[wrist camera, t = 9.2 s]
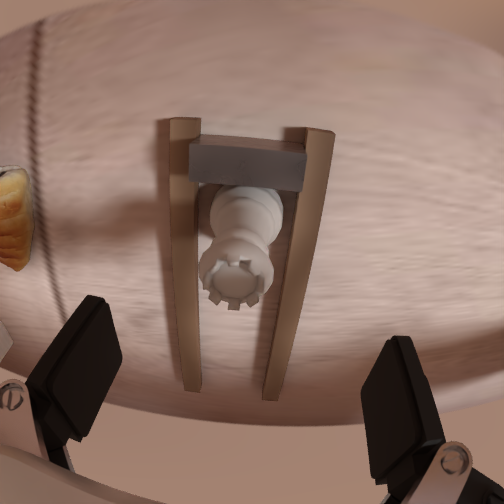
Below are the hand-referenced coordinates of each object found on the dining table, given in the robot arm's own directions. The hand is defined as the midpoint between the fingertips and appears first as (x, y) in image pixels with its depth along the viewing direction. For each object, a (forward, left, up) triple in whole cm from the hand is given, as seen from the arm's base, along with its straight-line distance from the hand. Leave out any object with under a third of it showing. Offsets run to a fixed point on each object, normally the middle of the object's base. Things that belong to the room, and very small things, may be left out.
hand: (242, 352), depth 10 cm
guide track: (+1, +6, -11) cm, 13 cm away
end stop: (+1, -4, -11) cm, 12 cm away
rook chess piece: (+1, 0, -12) cm, 12 cm away
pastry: (+21, +1, -12) cm, 24 cm away
